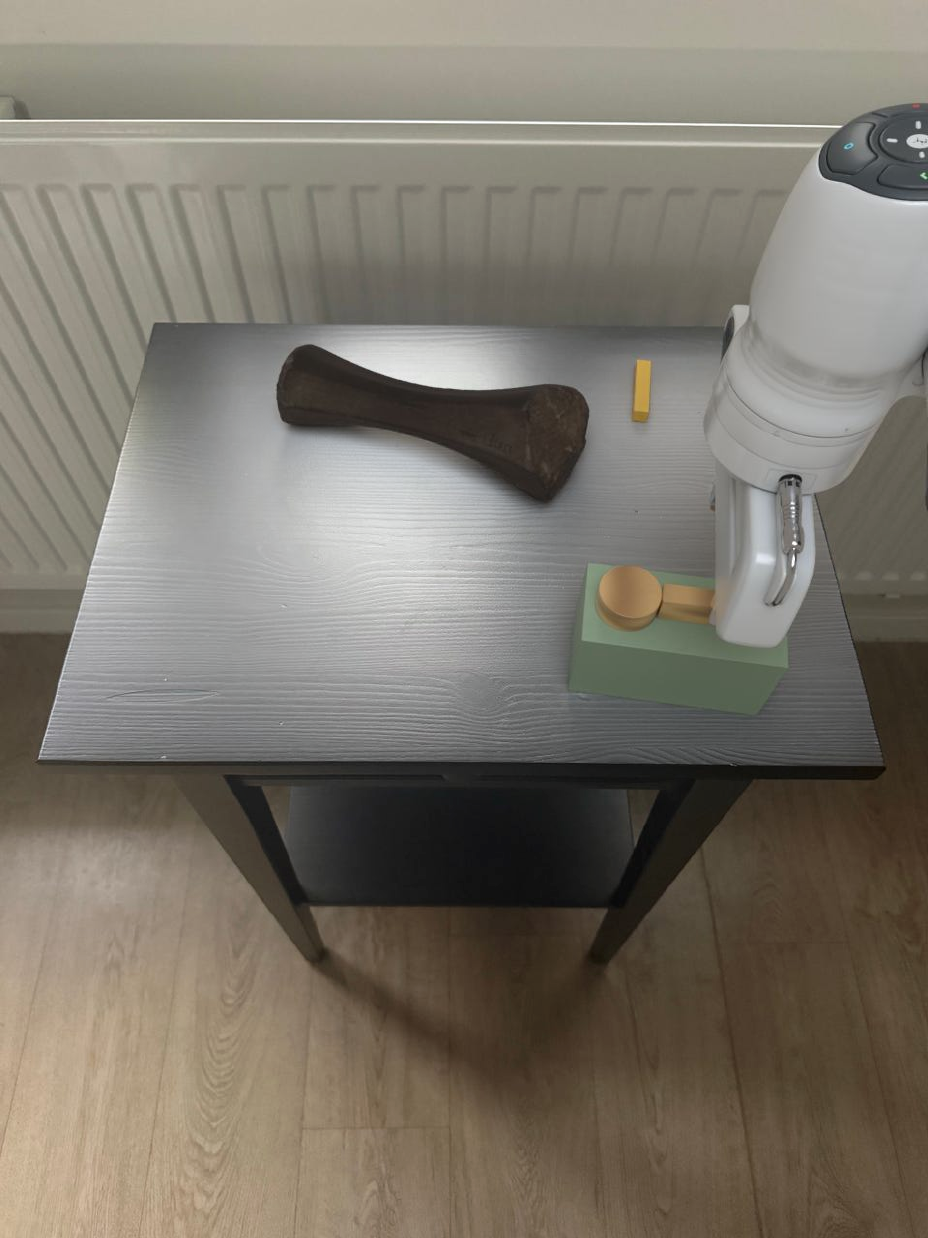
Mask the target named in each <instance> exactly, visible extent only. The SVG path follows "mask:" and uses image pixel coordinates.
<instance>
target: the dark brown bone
mask: <svg viewBox="0 0 928 1238" xmlns="http://www.w3.org/2000/svg"><path fill="white" fill-rule="evenodd" d="M279 372H280V373H279V375H278V379H277V382H276V385H275V386H276V388H275V389H276V390H275V391H276V396H275V397H276V398H275V399H276V404H277V410H278V413H279V417H280V419H281V422H284V423H286V424H290V425H310V426H311V425H313V426H314V425H318V426H319V425H320V426H321V425H336V426H337V425H338V426H339V425H340V426H354V427H355V426H356V427H365V428H370V429H371V428H372V429H378V430H383V431H390V432H395V433H398V434H403V435H406V436H410V437H415V438H417V439H422V440H424V441H428V442H431V443H433V444H436V445H438V446H441V447H444V448H446V449H449V450H451V451H453V452H456V453H458V454H460V455H462V456H465V457H467V458H469V459H471V460H473V461H474V462H476V463H479V464H481V465H482V466H484V467H485V468H487V469H489V470H490V471H492V472H494V473H495V474H497V475H499V476H501V477H502V478H503V479H506V481H508V482H510V483H511V484H513V485H515V486H517V487H518V488H519V489H521V490H523V491H524V492H526V493H527V494H528V495H531V496H532V497H534V498H536V499H538V500H541V501H542V502H549V501H551V500H552V499H554V497H555V496H556V495H557V493H558V492H559V491H560V490H561V489H563V487H564V486H565V485H566V483H567V482H568V479H569V478H570V477H571V474H572V472H573V471H574V468H575V466H576V464H578V461H579V459H580V457H581V455H582V453H583V451H585V448H586V445H587V438H586V436H587V435H586V434H587V430H588V423H589V419H590V407H589V405H588V403H587V399H586V398H585V396H584V395H583V394H582V392H580V391H579V390H578V389H576V388H575V387H573V386H569V385H565V384H559V383H558V384H557V383H542V384H541V383H540V384H534V385H526V386H519V387H508V388H497V389H493V388H492V389H461V388H451V387H436V386H430V385H425V384H419V383H416V382H410V381H407V380H402V379H398V378H395V377H392V376H389V375H385V374H382V373H380V372H377V371H374V370H371V369H369V368H366V367H364V366H361V365H359V364H357V363H355V362H352V361H350V360H348V359H346V358H343V357H341V356H339V355H337V354H336V353H334V352H331V351H329V350H327V349H325V348H322V347H320V346H318V345H315V344H312V343H308V344H304V345H300V346H296V347H295V348H293V350H292V351H291V352H290V353H289V354H288V355H287V357H286V358H285V361H284V362H283V364H282V366H281V369H280V371H279Z"/></svg>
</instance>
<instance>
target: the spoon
mask: <svg viewBox="0 0 928 1238" xmlns="http://www.w3.org/2000/svg"><path fill="white" fill-rule="evenodd" d="M617 566H618V567H615V568H613V569H611V570H610V571H608V572H607V573H606V574H605V575H604V576H603V578H602V579H601V582H600V585H599V588H598V592H597V596H596V601H595V605H596V609H597V612H598V614H599V616H600V617H601V619H602V620H603V621H604V622H605V623H606V624H608V625H609V626H611V627H612V628H615V629H617V630H620V631H627V632H633V631H638V630H641V629H644V628H645V627H647V626H648V625H650V624H651V623H652V622H653V620H654V619H655V616H656V614H657V618H659V619H667V620H674V621H682V622H690V623H697V624H705V625H712V624H710V622H709V618H710V602H711V601H712V598H713V595H714V593H715V590H712V589H704V588H696V587H688V586H681V585H673V584H664V585H663V588H662V589H661V586H660V584H659V582H658V580H657V579H656V578H655V577H654V576H653V575H652V574H651V573H650V572H648V571H647V570H648V569H644V567H643V568H642V567H639V566H637V565H629V564H627V565H626V564H625V565H624V564H623V565H617ZM712 626H714V625H712Z"/></svg>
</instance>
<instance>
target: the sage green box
mask: <svg viewBox="0 0 928 1238" xmlns="http://www.w3.org/2000/svg"><path fill="white" fill-rule="evenodd" d="M618 566H619V565H610V564H603V563H595V562H587V564H586V568H585V572H584V576H583V580H582V584H581V588H580V592H579V597H578V599H577V605H576V609H575V613H574V616H573V617H574V618H573V627H572V628H573V629H572V639H571V649H570V650H571V652H570V660H569V661H570V662H569V674H568V683H567V684H568V685H567V691H570V692H576V693H577V692H578V693H586V694H593V695H598V696H599V695H600V696H608V697H615V698H622V699H629V700H637V701H645V702H651V703H659V704H668V705H674V706H682V707H688V708H696V709H704V710H709V711H710V710H711V711H718V712H725V713H734V714H741V715H747V716H748V715H749V716H757V715H758V714H759V712H760V711H761V709H762V708H763V706H764V705H765V704H766V702H767V701H768V699H769V698H770V696H771V695H772V693H773V691H774V690H775V688H776V687H777V686H778V684H779V683H780V681H781V680H782V678H783V677H784V675H785V674H786V672H787V671H788V669H789V668H790V667H789V664H790V663H789V649H788V647H789V646H788V633H787V634H786V635H785V637H784V639H783V640H782V642H781V643H780V644H779V645H778V646H776V647H773V648H756V647H748V646H741V645H736V644H732V643H728V642H726V641H724V640H722V639H720V638H719V637H718V636H717V634H716V629H715V626H712V625H705V624H697V623H690V622H682V621H674V620H667V619H659V618H657V614H656V616H655V619H654V620H653V622H652V623H651V624H650V625H648V626H647V627H645V628H644V629H641V630H638V631H633V632H627V631H620V630H617V629H615V628H612V627H611V626H609V625H608V624H606V623H605V622H604V621H603V620H602V619H601V617H600V616H599V614H598V612H597V609H596V605H595V601H596V596H597V592H598V588H599V585H600V582H601V579H602V578H603V576H604V575H605V574H606V573H607V572H608V571H610V570H611V569H613V568H615V567H618ZM646 570H647V571H648V572H650V573H651V574H652V575H653V576H654V577H655V578H656V579H657V580H658V582H659V584H660V586H661V589H662V588H663V585H664V584H673V585H681V586H688V587H696V588H704V589H712V590H715V578H711V577H704V576H696V575H688V574H680V573H673V572H665V571H657V570H651V569H646Z"/></svg>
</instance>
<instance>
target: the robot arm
mask: <svg viewBox="0 0 928 1238" xmlns="http://www.w3.org/2000/svg"><path fill="white" fill-rule="evenodd" d="M748 301H749V302H748V304H734V305H733V306H732V307H731V309H730V311H729V313H728V316H727V318H726V322H725V325H724V329H723V335H722V345H721V346H722V347H721V357H720V363H719V368H718V370H717V373H716V375H715V378H714V380H713V383H712V391H711V393H710V396H709V399H708V402H707V404H706V407H705V410H704V414H703V421H702V425H703V427H702V428H703V435H704V437H705V438H704V439H705V441H706V443H707V446H708V447H709V449H710V451H711V453H712V454H713V456H714V471H715V472H714V480H713V482H712V485H711V487H710V490H709V508H710V510H711V511H713V512H714V528H715V529H714V533H715V536H714V538H715V539H714V546H715V547H714V548H715V552H714V553H715V554H714V555H715V556H714V561H715V562H714V566H715V569H714V570H715V571H714V574H715V575H714V577H715V578H714V579H715V593H714V595H713V598H712V601H711V602H710V618H709V622H710V624H712V625H714V626H715V629H716V634H717V636H718V637H719V638H720V639H722V640H724V641H726V642H728V643H732V644H736V645H741V646H748V647H756V648H773V647H776V646H778V645H779V644H780V643H781V642H782V640H783V639H784V637H785V635H786V634H787V635H788V632H789V631H790V628H791V626H792V624H793V623H794V621H795V618H796V616H797V615H798V613H799V611H800V609H801V607H802V605H803V602H804V600H805V599H806V596H807V594H808V591H809V589H810V587H811V583H812V580H813V576H814V571H815V565H816V536H815V535H816V534H815V522H814V509H813V507H814V506H813V495H814V494H818V493H821V492H825V491H827V490H830V489H832V488H834V487H836V486H838V485H839V484H841V483H842V482H844V481H845V480H846V479H847V478H848V477H849V476H850V475H851V473H853V471H854V469H855V468H856V466H857V465H858V463H859V461H860V460H861V458H862V456H863V454H864V453H865V451H866V449H868V446H869V444H870V442H871V441H872V440H873V438H874V436H875V434H876V433H877V432H878V429H879V428H880V426H881V425H882V423H883V421H884V419H885V418H886V416H887V415H888V413H889V412H890V410H891V408H892V407H893V406H894V405H895V403H897V402H898V401H899V400H901V399H903V398H907V397H918V398H923V399H925V403H926V415H927V416H928V102H912V103H910V102H909V103H902V104H895V105H889V106H885V107H881V108H876V109H874V110H871V111H868V112H865V113H863V114H861V115H858V116H856V117H855V118H852V119H851V120H849V121H848V122H846V123H845V124H844V125H842V126H841V127H839V128H837V130H835V131H834V132H833V133H832V134H831V135H830V136H829V137H828V138H827V139H826V140H825V141H824V142H823V143H822V144H821V145H820V146H819V147H818V149H817V150H816V151H815V152H814V154H813V155H812V156H811V158H810V160H809V161H808V162H807V164H806V166H805V167H804V169H803V171H802V172H801V173H800V176H799V177H798V179H797V180H796V182H795V184H794V186H793V187H792V190H791V191H790V193H789V196H788V197H787V199H786V201H785V203H784V205H783V207H782V210H781V212H780V214H779V215H778V218H777V220H776V223H775V225H774V226H773V229H772V231H771V234H770V236H769V238H768V241H767V243H766V246H765V248H764V250H763V253H762V256H761V258H760V261H759V263H758V266H757V268H756V271H755V274H754V277H753V280H752V282H751V285H750V290H749V300H748ZM925 475H926V476H925V506H926V510H927V512H928V443H927V448H926V473H925Z"/></svg>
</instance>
